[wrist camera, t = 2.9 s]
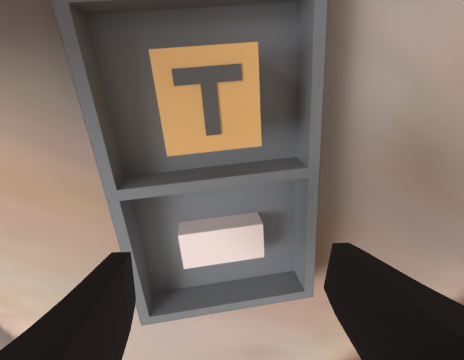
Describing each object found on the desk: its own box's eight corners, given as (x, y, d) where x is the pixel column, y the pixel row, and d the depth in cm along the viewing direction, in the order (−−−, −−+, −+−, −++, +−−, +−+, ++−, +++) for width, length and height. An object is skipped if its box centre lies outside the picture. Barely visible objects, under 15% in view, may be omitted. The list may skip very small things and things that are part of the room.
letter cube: (173, 136, 15) (167, 157, 11) (161, 56, 13) (148, 49, 10) (245, 129, 15) (262, 146, 11) (240, 50, 14) (258, 41, 10)
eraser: (184, 254, 18) (183, 269, 16) (179, 222, 17) (177, 235, 15) (258, 243, 18) (264, 257, 17) (257, 211, 17) (262, 223, 16)
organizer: (147, 296, 19) (141, 325, 17) (-2, -295, 9) (-64, -413, 7) (299, 272, 20) (313, 296, 18) (313, -280, 10) (346, -377, 8)
